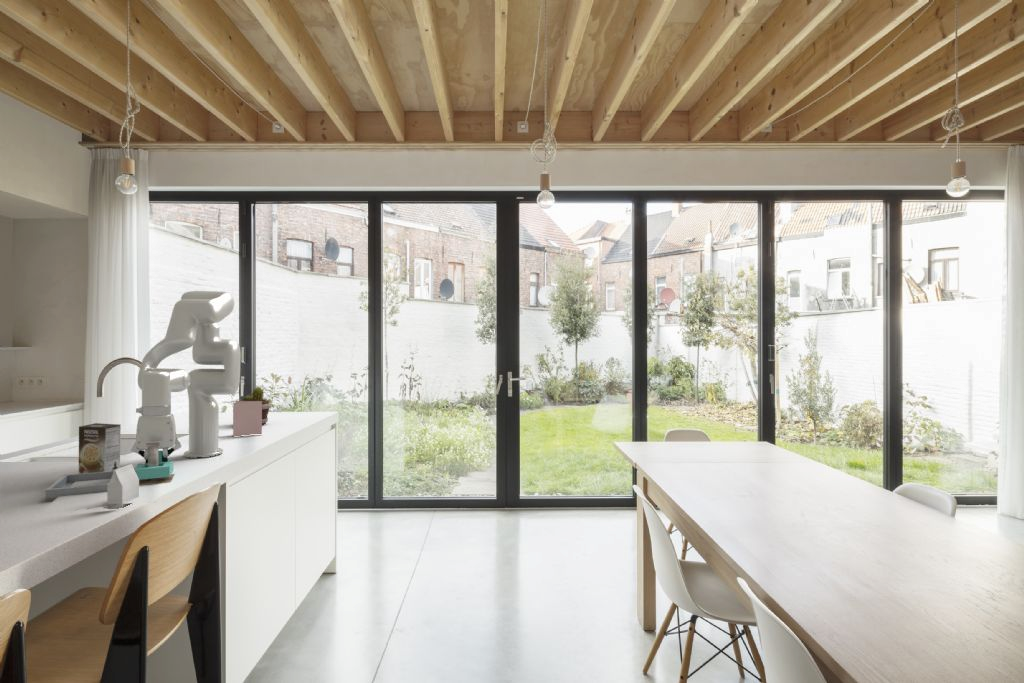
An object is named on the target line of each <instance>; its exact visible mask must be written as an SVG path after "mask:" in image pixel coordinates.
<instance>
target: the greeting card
mask: <svg viewBox="0 0 1024 683" xmlns="http://www.w3.org/2000/svg"><path fill="white" fill-rule="evenodd" d="M232 404H233V405H232V408H233V409H232V413H233V414H232V437H233V436H241V435H250V434H262V435H263V425H262V401H241V400H235V402H233V403H232Z"/></svg>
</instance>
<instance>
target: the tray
mask: <svg viewBox="0 0 1024 683" xmlns="http://www.w3.org/2000/svg"><path fill="white" fill-rule="evenodd" d="M113 472H114V471H106V472H94V473H82V474H79V473H72V474H64V475H62V476H61V477H59V478H58V479H57V480H56V481H55V482H54V483H52V484H51V485H50V486H48V488H46V489H45V493H44V494H45V495H44V498H45V502H50V501H49V500H54V501H56V500H57V499H58V498H59V497H61V496H71V495H72V496H73V495H82V494H92V493H93V494H94V493H101V492H103V493H104V492H107V486H108V484H109V482H110V480H111V478H112V475H113ZM102 479H109V480H108V481H107V482H106V483H102V484H101V483H99V484H90V485H89V484H88V485H77V486H73V484H74V483H76V482H77V481H88V480H89V481H91V480H102Z"/></svg>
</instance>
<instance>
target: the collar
mask: <svg viewBox="0 0 1024 683" xmlns="http://www.w3.org/2000/svg"><path fill="white" fill-rule="evenodd" d="M162 458H163V449H159V450H158V466H157V467H148V463H138V464H137V465H136V466H135V467H133V468H134V470H135V472H136V474H137V476H138V478H139V480H141V479H151V478H162V477H170V475H171V474H173V472H174V461H173V460H172V461H169V460H168V462H162Z"/></svg>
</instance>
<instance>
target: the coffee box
mask: <svg viewBox="0 0 1024 683" xmlns="http://www.w3.org/2000/svg"><path fill="white" fill-rule="evenodd" d="M121 429H122V428H121V424H117V423H114V424H113V423H100V422H99V423H98V422H95V423H90V424H86V425H81V426H78V474H82V473H94V472H106V471H114V470H116V469H119V468H121Z"/></svg>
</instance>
